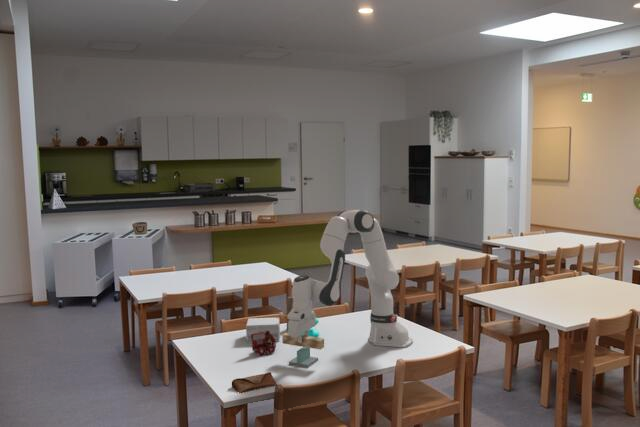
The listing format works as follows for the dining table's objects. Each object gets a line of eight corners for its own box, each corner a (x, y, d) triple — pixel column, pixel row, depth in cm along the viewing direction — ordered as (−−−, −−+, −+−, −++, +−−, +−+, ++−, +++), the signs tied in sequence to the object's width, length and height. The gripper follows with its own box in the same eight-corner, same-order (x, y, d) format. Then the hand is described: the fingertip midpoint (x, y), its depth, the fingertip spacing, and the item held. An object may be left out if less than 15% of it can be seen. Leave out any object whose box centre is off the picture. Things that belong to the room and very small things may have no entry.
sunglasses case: (238, 394, 231) (235, 377, 233) (233, 397, 236) (230, 381, 239) (279, 384, 239) (275, 368, 242) (273, 388, 245) (270, 372, 247)
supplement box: (280, 333, 308) (279, 316, 307) (279, 341, 295) (279, 324, 294) (248, 334, 308) (248, 317, 307) (246, 342, 295) (245, 325, 294)
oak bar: (282, 343, 267) (282, 334, 267) (286, 341, 270) (286, 332, 270) (320, 349, 258) (320, 340, 257) (324, 347, 261) (324, 338, 260)
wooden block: (307, 328, 317) (306, 296, 315) (288, 330, 313) (287, 298, 311) (304, 326, 320) (304, 294, 318) (286, 329, 316) (285, 297, 314)
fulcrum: (318, 360, 267) (318, 346, 266) (308, 367, 258) (307, 353, 257) (299, 357, 271) (299, 343, 271) (288, 364, 263) (288, 350, 262)
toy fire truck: (278, 352, 279) (278, 331, 278) (254, 357, 273) (254, 335, 272) (272, 348, 285) (272, 327, 284) (249, 352, 279) (248, 332, 278)
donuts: (321, 316, 303) (314, 321, 294) (321, 335, 304) (314, 340, 295) (304, 315, 307) (296, 320, 298) (304, 333, 308) (296, 338, 299)
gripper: (307, 305, 273) (307, 333, 274) (285, 316, 255) (286, 346, 256) (318, 306, 270) (319, 335, 272) (297, 318, 252) (298, 348, 253)
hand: (303, 341), depth 264 cm, fingers closed on oak bar, 3 cm apart
